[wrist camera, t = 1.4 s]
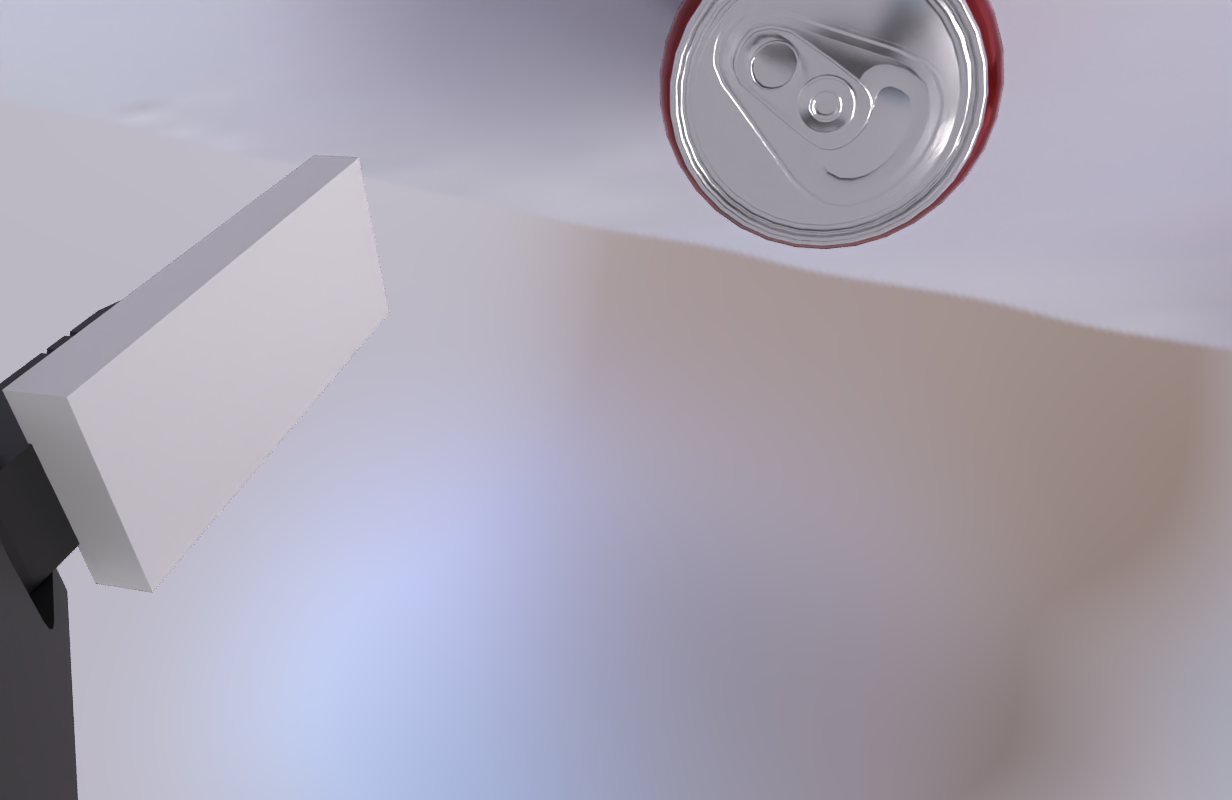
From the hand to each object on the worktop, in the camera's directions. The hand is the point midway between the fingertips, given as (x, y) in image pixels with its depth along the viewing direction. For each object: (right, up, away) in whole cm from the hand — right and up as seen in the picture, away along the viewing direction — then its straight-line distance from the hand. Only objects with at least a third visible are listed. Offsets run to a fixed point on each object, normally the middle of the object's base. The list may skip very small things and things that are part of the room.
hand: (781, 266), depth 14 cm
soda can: (+5, +11, +16) cm, 20 cm away
